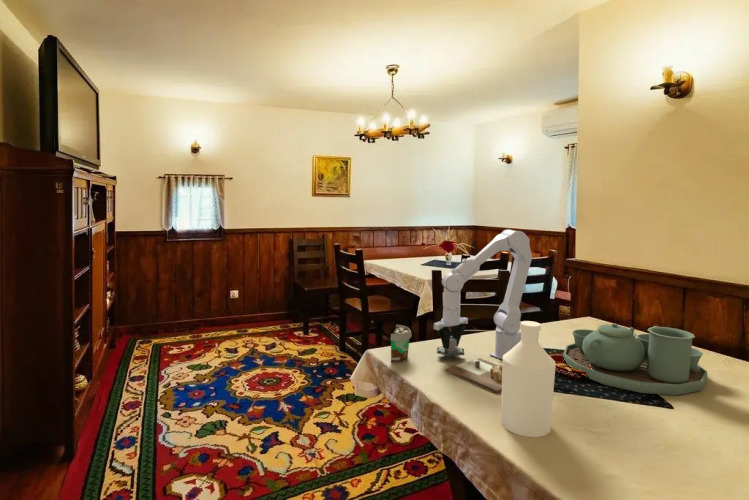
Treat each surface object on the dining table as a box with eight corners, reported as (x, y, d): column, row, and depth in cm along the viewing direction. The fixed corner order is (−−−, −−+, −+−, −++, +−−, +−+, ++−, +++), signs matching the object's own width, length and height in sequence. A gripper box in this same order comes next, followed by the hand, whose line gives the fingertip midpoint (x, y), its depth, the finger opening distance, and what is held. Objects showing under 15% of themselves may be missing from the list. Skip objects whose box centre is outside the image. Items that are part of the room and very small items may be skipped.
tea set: (712, 369, 143) (716, 320, 141) (694, 411, 114) (700, 349, 112) (584, 342, 170) (586, 300, 168) (543, 370, 141) (545, 320, 139)
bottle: (523, 442, 98) (529, 333, 95) (489, 418, 108) (493, 319, 106) (563, 431, 102) (569, 327, 100) (526, 409, 113) (531, 315, 110)
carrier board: (479, 361, 148) (480, 348, 147) (531, 380, 131) (532, 366, 131) (445, 371, 138) (446, 357, 138) (496, 394, 122) (497, 378, 122)
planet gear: (450, 346, 157) (450, 332, 156) (469, 353, 149) (470, 339, 149) (431, 351, 151) (431, 337, 151) (450, 358, 144) (450, 344, 143)
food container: (408, 365, 143) (409, 335, 142) (390, 363, 144) (390, 334, 143) (413, 352, 155) (413, 325, 154) (395, 351, 156) (396, 324, 155)
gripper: (457, 303, 156) (456, 340, 158) (427, 308, 148) (427, 347, 149) (473, 307, 150) (471, 345, 152) (442, 313, 142) (441, 353, 143)
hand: (450, 346), depth 150 cm, fingers closed on planet gear, 4 cm apart
